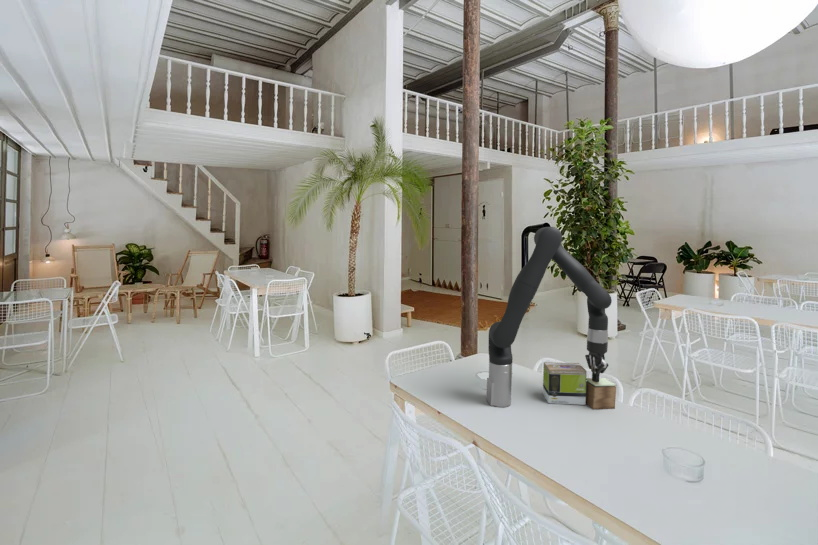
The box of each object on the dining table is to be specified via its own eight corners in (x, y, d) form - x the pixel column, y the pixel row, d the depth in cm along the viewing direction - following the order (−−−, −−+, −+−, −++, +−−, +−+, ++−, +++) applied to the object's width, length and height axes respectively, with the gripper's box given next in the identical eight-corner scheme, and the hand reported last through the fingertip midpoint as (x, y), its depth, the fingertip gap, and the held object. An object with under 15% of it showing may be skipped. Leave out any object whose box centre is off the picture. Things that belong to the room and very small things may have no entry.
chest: (593, 409, 161) (594, 387, 160) (584, 402, 168) (585, 381, 167) (614, 408, 162) (616, 386, 161) (604, 401, 169) (605, 380, 168)
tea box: (578, 395, 175) (579, 362, 173) (585, 405, 165) (587, 370, 163) (542, 394, 176) (543, 361, 175) (547, 404, 166) (549, 368, 165)
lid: (595, 386, 160) (595, 384, 160) (585, 379, 167) (585, 378, 167) (616, 386, 161) (617, 384, 161) (606, 379, 168) (606, 378, 168)
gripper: (579, 335, 168) (578, 376, 170) (598, 344, 155) (596, 388, 157) (596, 335, 169) (594, 375, 171) (616, 343, 156) (614, 387, 158)
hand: (595, 381), depth 164 cm, fingers closed
